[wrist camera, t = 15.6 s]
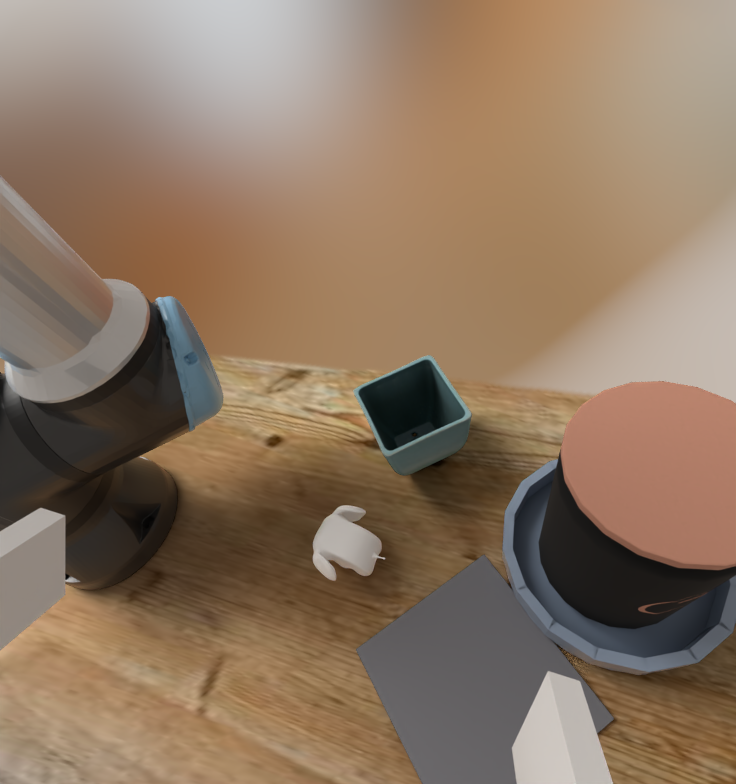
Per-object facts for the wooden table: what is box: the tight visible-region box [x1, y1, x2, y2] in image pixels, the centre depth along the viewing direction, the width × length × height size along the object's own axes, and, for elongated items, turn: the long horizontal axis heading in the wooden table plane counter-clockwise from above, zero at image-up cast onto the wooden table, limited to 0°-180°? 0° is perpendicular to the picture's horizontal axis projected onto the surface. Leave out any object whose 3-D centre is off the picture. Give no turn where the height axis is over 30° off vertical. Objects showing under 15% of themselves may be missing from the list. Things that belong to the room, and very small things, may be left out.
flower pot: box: [354, 355, 472, 475], centre depth 44 cm, size 9×9×9 cm
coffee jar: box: [538, 381, 736, 629], centre depth 29 cm, size 11×11×18 cm
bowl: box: [502, 459, 736, 675], centre depth 36 cm, size 17×17×4 cm
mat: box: [356, 555, 614, 784], centre depth 34 cm, size 14×14×1 cm
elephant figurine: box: [312, 505, 385, 581], centre depth 40 cm, size 7×8×6 cm
